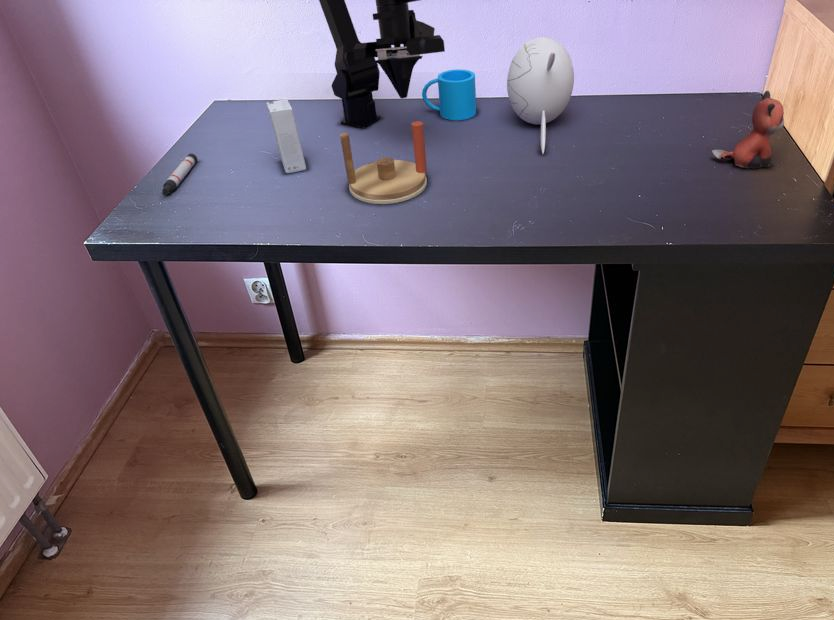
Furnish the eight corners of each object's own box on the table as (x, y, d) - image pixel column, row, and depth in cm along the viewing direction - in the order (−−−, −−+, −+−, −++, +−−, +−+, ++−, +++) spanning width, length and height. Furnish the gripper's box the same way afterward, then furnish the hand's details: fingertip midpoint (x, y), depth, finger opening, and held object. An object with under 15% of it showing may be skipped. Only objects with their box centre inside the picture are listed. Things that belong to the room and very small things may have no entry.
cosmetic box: (307, 170, 129) (294, 108, 121) (284, 174, 128) (269, 112, 120) (302, 157, 133) (289, 97, 125) (280, 161, 132) (265, 101, 124)
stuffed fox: (706, 153, 127) (719, 90, 119) (765, 152, 127) (782, 88, 119) (716, 171, 121) (730, 106, 114) (778, 169, 121) (797, 104, 113)
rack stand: (333, 194, 121) (333, 191, 120) (378, 162, 130) (378, 159, 129) (399, 210, 115) (398, 207, 115) (441, 176, 124) (441, 173, 124)
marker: (189, 162, 133) (186, 153, 132) (198, 162, 133) (195, 153, 132) (160, 199, 122) (156, 189, 121) (170, 199, 122) (166, 189, 121)
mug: (478, 106, 150) (477, 69, 145) (473, 120, 144) (472, 82, 139) (426, 105, 152) (423, 69, 146) (420, 119, 146) (416, 82, 140)
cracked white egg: (509, 29, 140) (511, 48, 119) (574, 32, 140) (587, 52, 119) (503, 120, 150) (503, 153, 129) (563, 123, 150) (573, 157, 129)
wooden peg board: (334, 190, 120) (324, 137, 114) (378, 159, 129) (371, 108, 123) (398, 206, 115) (391, 151, 108) (439, 172, 124) (435, 120, 117)
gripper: (460, -2, 118) (468, 91, 124) (389, 9, 129) (399, 93, 136) (417, 0, 110) (428, 99, 117) (345, 11, 122) (359, 100, 129)
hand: (403, 97), depth 125 cm, fingers closed
